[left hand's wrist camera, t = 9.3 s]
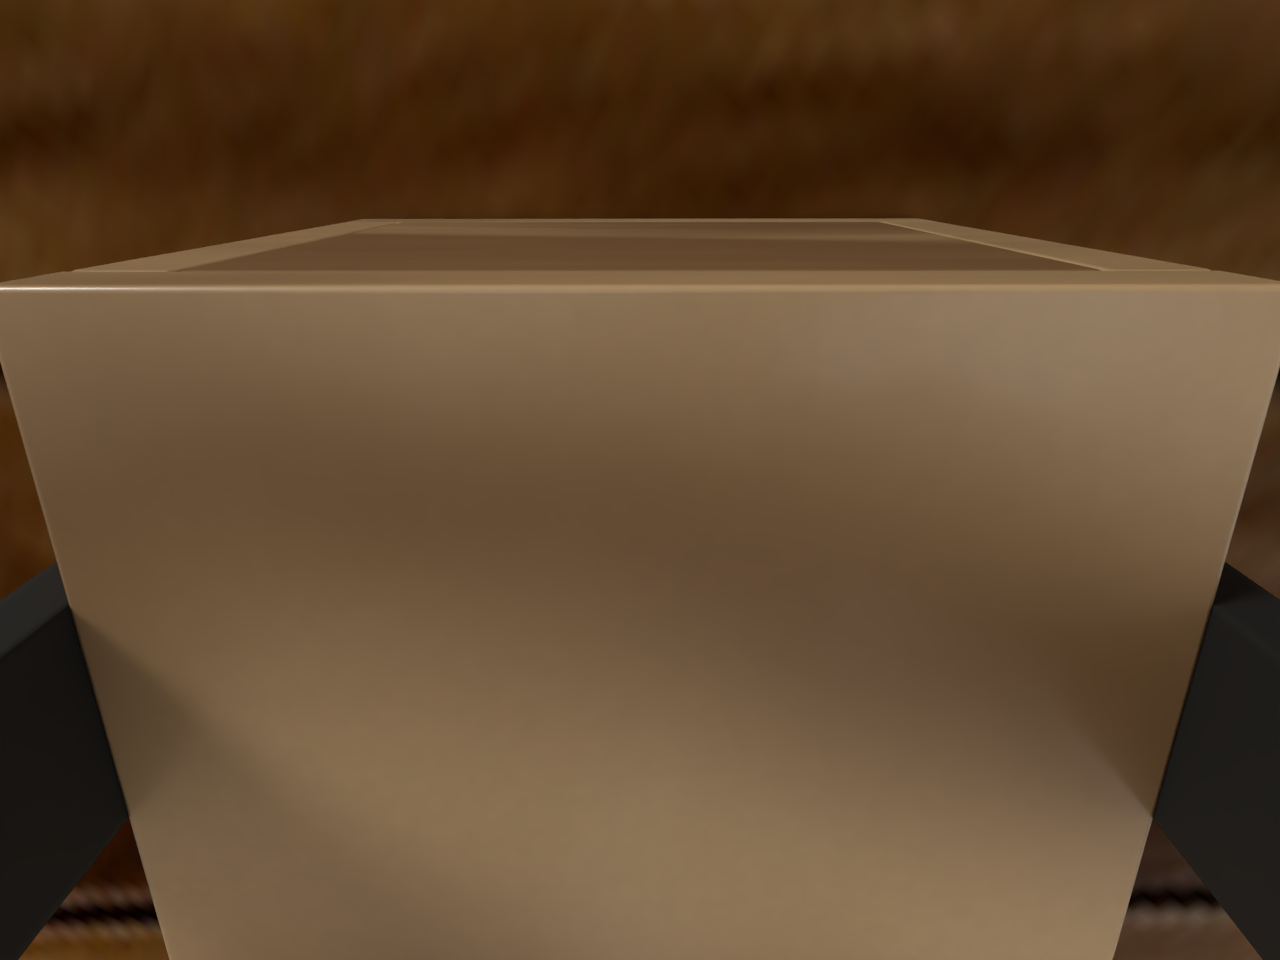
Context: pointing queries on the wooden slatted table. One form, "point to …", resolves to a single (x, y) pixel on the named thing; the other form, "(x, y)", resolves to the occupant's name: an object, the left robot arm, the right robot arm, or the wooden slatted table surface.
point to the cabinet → (641, 578)
